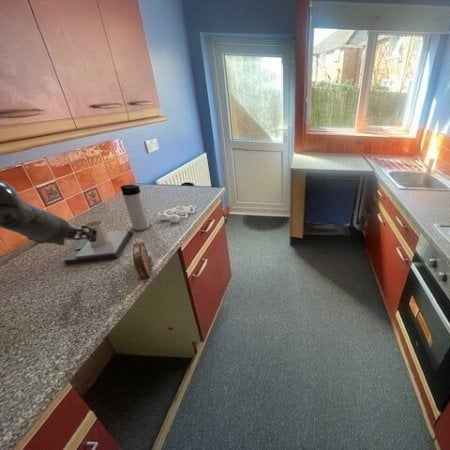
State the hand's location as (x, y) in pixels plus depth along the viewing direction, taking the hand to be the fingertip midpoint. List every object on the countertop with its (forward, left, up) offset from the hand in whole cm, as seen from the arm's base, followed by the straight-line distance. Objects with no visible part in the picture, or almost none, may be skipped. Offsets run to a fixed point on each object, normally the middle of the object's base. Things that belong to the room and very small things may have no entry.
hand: (78, 240), depth 80 cm
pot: (0, +11, -7) cm, 13 cm away
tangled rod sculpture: (+23, +36, -10) cm, 44 cm away
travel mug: (+10, +25, -10) cm, 29 cm away
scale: (0, +11, -10) cm, 15 cm away
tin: (+18, -6, -10) cm, 22 cm away
